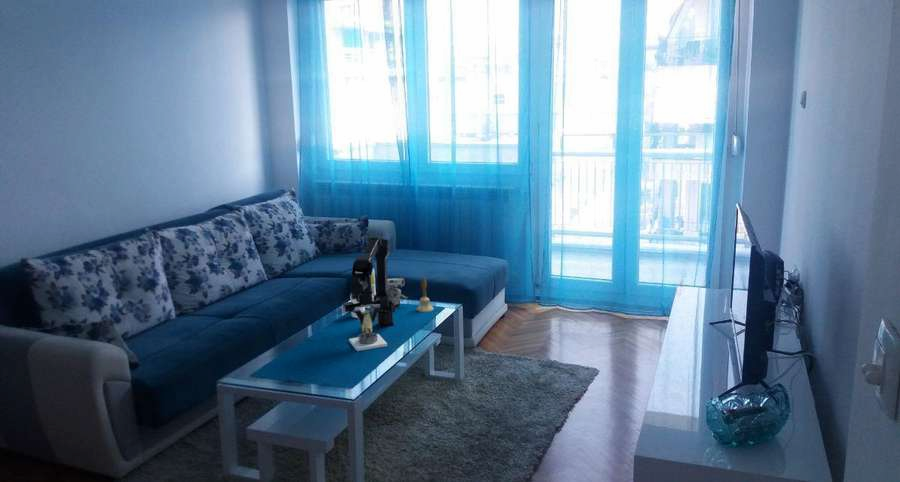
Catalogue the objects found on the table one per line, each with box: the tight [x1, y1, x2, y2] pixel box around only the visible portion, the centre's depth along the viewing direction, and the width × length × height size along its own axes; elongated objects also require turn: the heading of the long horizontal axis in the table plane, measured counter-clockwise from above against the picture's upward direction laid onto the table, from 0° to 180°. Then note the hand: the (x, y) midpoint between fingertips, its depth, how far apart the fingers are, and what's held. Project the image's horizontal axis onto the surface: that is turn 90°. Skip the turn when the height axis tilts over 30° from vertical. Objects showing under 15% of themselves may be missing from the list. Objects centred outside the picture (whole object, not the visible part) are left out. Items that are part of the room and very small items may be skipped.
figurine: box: [387, 277, 410, 307], centre depth 339 cm, size 9×12×15 cm
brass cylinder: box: [361, 310, 373, 333], centre depth 290 cm, size 4×4×8 cm
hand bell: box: [416, 277, 434, 313], centre depth 335 cm, size 8×8×16 cm
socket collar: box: [357, 332, 378, 344], centre depth 291 cm, size 8×8×2 cm
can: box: [349, 294, 366, 319], centre depth 328 cm, size 6×6×12 cm
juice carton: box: [355, 268, 377, 309], centre depth 343 cm, size 8×9×19 cm
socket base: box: [348, 333, 388, 352], centre depth 292 cm, size 13×13×1 cm
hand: (366, 323), depth 290 cm, fingers closed on brass cylinder, 4 cm apart
